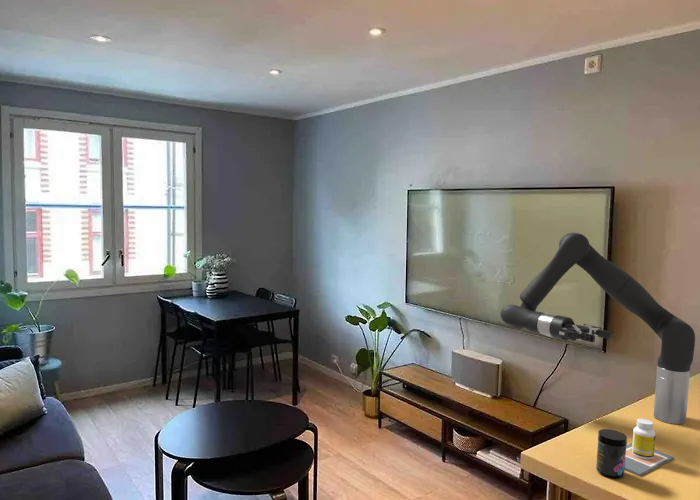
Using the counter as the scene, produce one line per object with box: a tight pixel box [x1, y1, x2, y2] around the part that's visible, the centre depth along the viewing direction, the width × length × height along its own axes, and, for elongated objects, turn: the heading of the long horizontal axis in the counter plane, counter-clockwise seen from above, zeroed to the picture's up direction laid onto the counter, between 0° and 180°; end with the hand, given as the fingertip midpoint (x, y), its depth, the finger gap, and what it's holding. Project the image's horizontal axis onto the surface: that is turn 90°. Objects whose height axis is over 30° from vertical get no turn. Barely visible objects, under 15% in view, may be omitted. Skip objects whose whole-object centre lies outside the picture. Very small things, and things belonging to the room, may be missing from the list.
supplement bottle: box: [631, 418, 656, 459], centre depth 147 cm, size 5×5×10 cm
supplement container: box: [595, 428, 628, 480], centre depth 138 cm, size 7×7×10 cm
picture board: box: [625, 442, 675, 477], centre depth 147 cm, size 18×11×1 cm, turn 124°
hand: (602, 337), depth 160 cm, fingers open, 8 cm apart
